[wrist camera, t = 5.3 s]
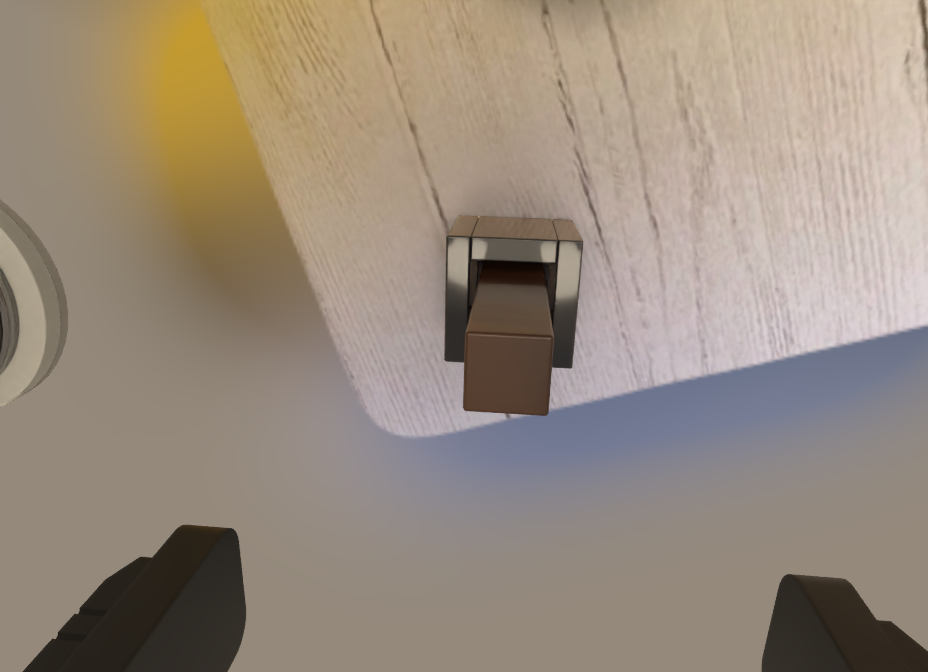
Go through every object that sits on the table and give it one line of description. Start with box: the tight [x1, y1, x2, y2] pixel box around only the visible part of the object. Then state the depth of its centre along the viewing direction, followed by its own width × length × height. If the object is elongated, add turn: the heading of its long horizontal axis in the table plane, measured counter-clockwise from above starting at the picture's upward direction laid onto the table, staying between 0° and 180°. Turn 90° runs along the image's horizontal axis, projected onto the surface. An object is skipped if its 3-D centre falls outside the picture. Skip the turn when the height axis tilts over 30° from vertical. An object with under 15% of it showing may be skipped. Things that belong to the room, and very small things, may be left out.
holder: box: [444, 216, 583, 368], centre depth 27 cm, size 5×5×5 cm
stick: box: [463, 261, 554, 416], centre depth 23 cm, size 2×2×12 cm
